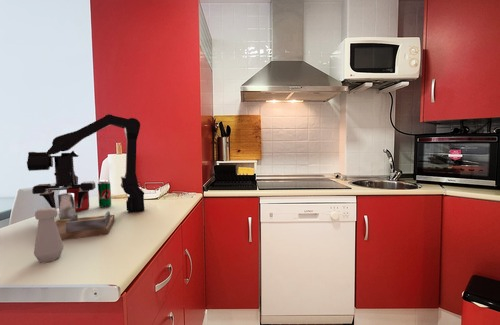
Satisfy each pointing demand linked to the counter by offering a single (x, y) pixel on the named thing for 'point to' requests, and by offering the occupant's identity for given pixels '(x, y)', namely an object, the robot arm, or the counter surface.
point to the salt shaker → (47, 236)
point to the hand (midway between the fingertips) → (67, 209)
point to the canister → (66, 205)
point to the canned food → (84, 203)
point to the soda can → (104, 193)
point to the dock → (85, 226)
